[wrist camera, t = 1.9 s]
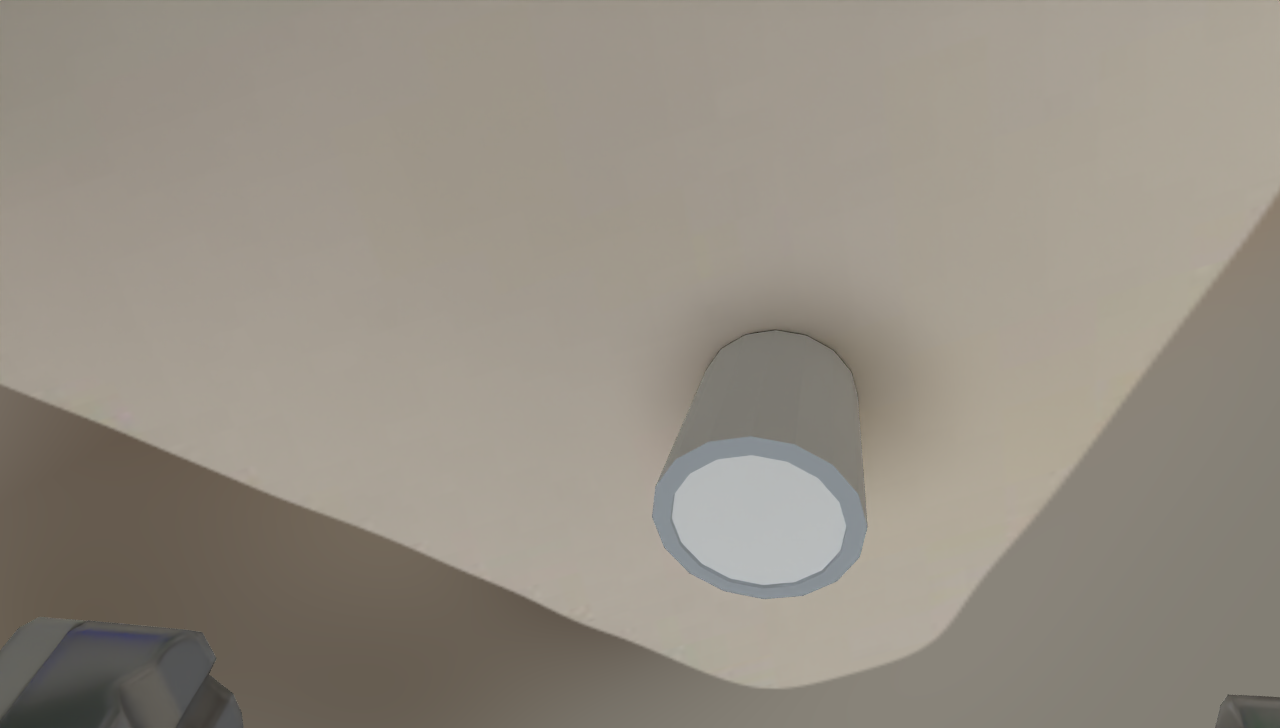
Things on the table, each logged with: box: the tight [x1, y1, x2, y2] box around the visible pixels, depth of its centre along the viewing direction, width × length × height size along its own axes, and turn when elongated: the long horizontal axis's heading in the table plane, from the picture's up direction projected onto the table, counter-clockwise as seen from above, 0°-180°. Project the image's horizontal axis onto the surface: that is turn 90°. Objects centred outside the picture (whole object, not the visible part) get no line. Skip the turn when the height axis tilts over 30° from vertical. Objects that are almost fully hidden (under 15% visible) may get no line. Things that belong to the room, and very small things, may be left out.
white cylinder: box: [652, 330, 867, 599], centre depth 41 cm, size 7×7×7 cm
